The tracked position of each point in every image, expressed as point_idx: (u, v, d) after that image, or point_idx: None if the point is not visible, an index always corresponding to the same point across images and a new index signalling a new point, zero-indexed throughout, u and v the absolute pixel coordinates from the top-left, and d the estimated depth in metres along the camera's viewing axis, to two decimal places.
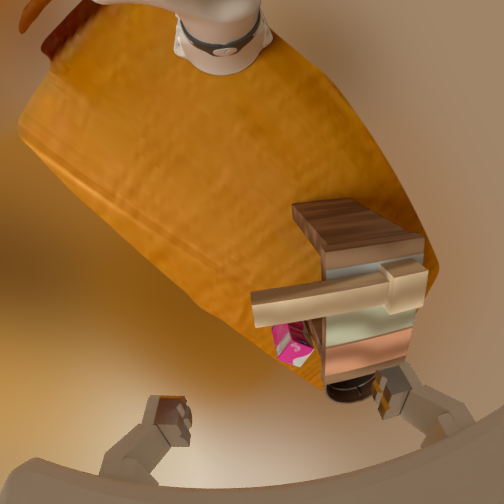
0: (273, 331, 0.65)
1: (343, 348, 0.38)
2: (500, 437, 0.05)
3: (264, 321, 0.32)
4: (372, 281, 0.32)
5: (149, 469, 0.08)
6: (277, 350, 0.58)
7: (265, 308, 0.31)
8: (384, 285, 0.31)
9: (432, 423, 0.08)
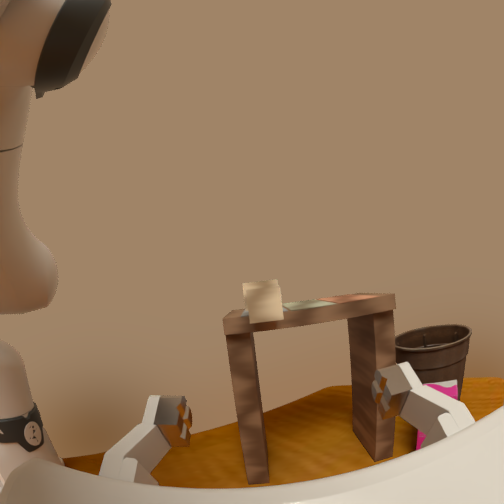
0: None
1: (338, 301, 0.37)
2: (500, 437, 0.05)
3: None
4: None
5: (149, 469, 0.08)
6: None
7: None
8: None
9: (432, 423, 0.08)
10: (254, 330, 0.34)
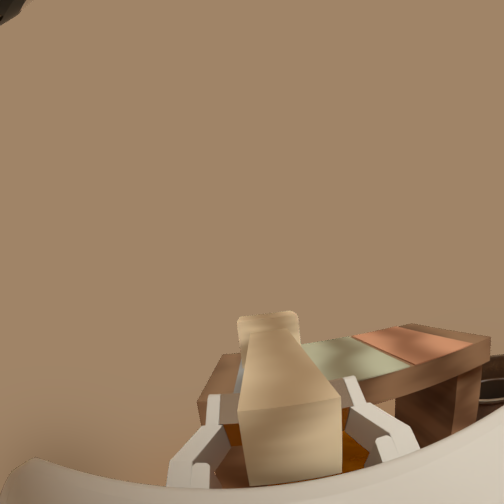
0: None
1: (405, 354, 0.18)
2: (501, 437, 0.05)
3: (310, 389, 0.08)
4: None
5: None
6: None
7: (258, 393, 0.09)
8: (254, 333, 0.23)
9: None
10: None
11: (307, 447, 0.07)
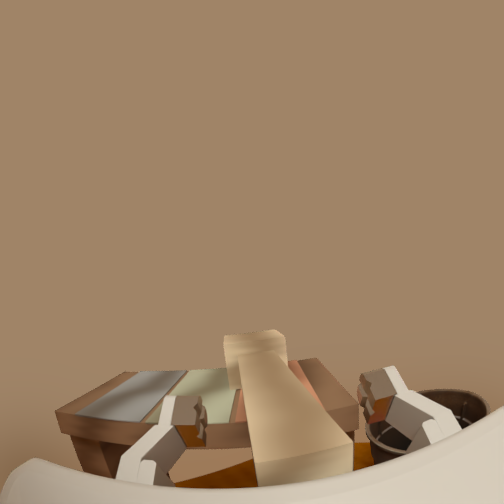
0: None
1: None
2: (500, 437, 0.05)
3: (320, 433, 0.08)
4: None
5: (165, 471, 0.08)
6: None
7: (269, 439, 0.08)
8: (242, 356, 0.22)
9: (418, 429, 0.08)
10: (96, 438, 0.15)
11: None
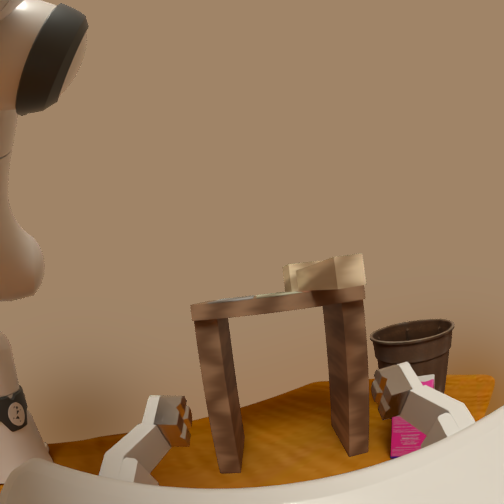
0: None
1: None
2: (501, 437, 0.05)
3: None
4: (299, 275, 0.40)
5: (149, 469, 0.08)
6: None
7: None
8: None
9: (432, 423, 0.08)
10: (220, 317, 0.35)
11: (354, 271, 0.26)
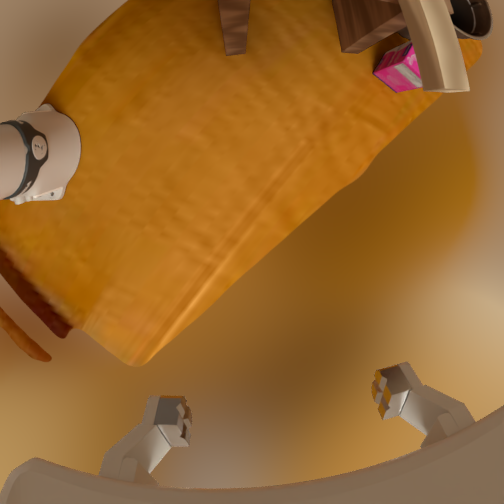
0: (398, 90, 0.39)
1: None
2: (500, 437, 0.05)
3: (461, 77, 0.14)
4: None
5: (149, 469, 0.08)
6: (419, 85, 0.32)
7: (446, 71, 0.14)
8: None
9: (432, 423, 0.08)
10: None
11: (449, 90, 0.16)
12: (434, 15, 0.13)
